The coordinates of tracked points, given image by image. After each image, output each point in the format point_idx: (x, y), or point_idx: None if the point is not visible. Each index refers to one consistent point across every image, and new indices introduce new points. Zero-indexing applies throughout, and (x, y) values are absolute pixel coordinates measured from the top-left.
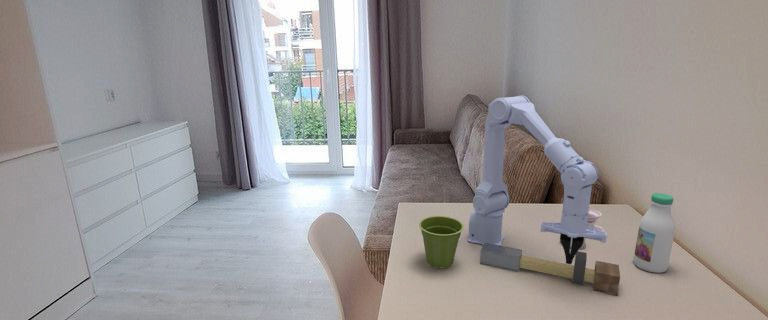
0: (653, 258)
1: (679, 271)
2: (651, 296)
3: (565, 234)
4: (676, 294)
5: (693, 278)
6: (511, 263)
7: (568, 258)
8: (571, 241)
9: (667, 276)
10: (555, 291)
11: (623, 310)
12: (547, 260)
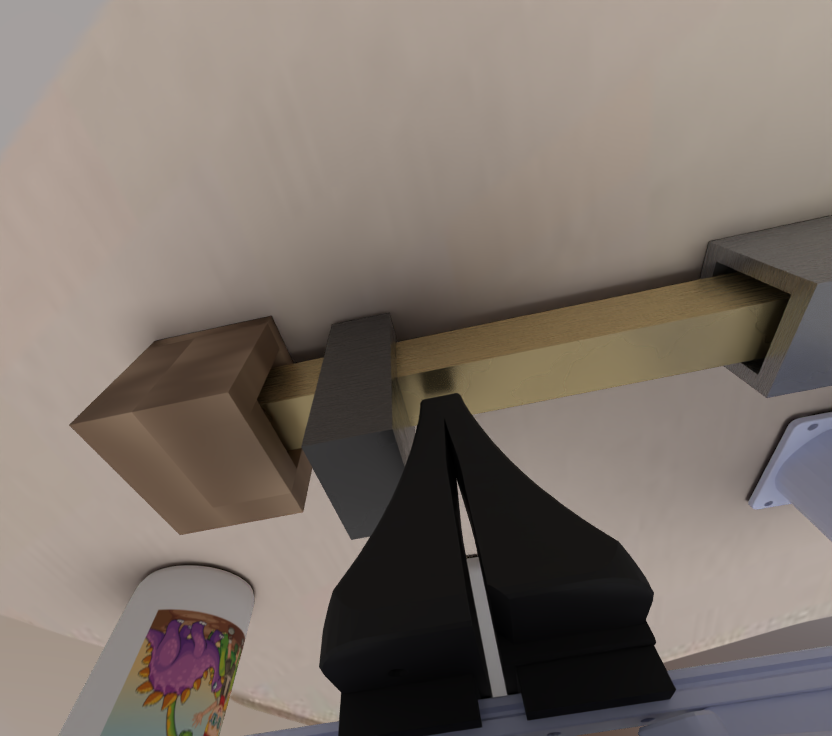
0: (136, 635)
1: (115, 606)
2: (51, 429)
3: (600, 698)
4: (6, 494)
5: (57, 596)
6: (812, 247)
7: (451, 421)
8: (477, 589)
9: (119, 570)
10: (456, 152)
11: (26, 203)
12: (575, 390)
